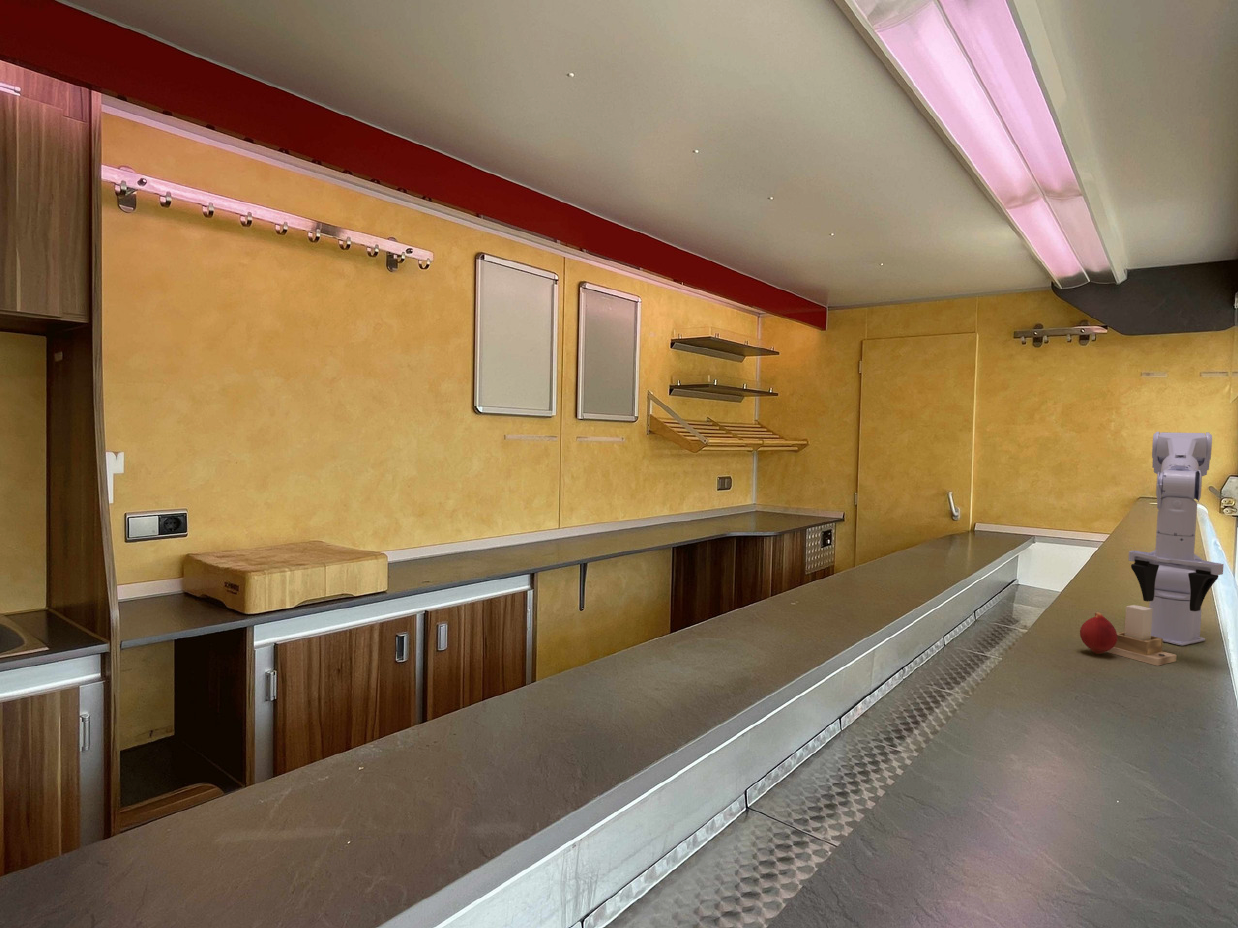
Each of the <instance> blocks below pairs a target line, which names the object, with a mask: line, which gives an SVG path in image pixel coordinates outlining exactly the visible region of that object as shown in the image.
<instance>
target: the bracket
mask: <svg viewBox="0 0 1238 928" xmlns="http://www.w3.org/2000/svg"><path fill="white" fill-rule="evenodd" d="M1124 634H1125V631H1121V632H1117V643H1116V644H1115V646H1114V647H1113V648H1112V649H1110V650H1108V651H1106V652H1105V653H1109V654H1113V655H1117V656H1120V657H1124V658H1128V659H1131V660H1135V661H1137V662H1141V663H1142V662H1143V663H1146V664H1149V665H1154V666H1156V667H1157V666H1162V665H1166V664H1169V663H1170V664H1171V663H1175V662H1177V654H1174V653H1170V652H1166V651H1163V645H1164V641H1163V639H1162V638H1158V637H1154V636H1151V640H1146V641H1143V640H1139V639H1135V638H1131V637H1127V636H1124Z"/></svg>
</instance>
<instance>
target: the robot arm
mask: <svg viewBox="0 0 1238 928" xmlns="http://www.w3.org/2000/svg"><path fill="white" fill-rule="evenodd" d="M1151 447H1152V449H1151V459H1152V468H1153V474H1156V484H1155V487H1156V488H1155V496H1156V508H1157V510H1158V511H1157V518H1156V533H1155V536H1156V537H1155V549H1154V550H1151V551H1149V552H1148V551H1141V550H1129V551H1128V561H1129V562H1133V563H1131V564H1130V568H1131V570H1132V572H1133V573H1134V575H1135V577H1136V579H1137V582H1138V584H1139V586H1140V590H1141V594H1142V598H1143V602H1147V603H1149V605H1148V608H1152V609H1153V611H1152V627H1151V636H1154V637H1158V638H1162V639H1163V643H1164V642H1165V643H1170V644H1173V645H1178V646H1186V645H1190V644H1196V643H1200V642H1204V641H1206V638H1205V637H1201V626H1202V625H1201V624H1202V605H1203V602H1204V600H1205V597H1206V596H1207V594H1208V593H1209V591H1210V589H1211V588H1212V587H1213V584H1215V582H1216V581H1217V580H1218V579H1219V576H1221V575H1222V576H1223V575H1224V563H1219V562H1214V561H1208V560H1205V559H1202V558H1201V557H1200V556H1198V555H1197V554H1196V553H1195V545H1196V543H1195V542H1196V529H1197V528H1196V527H1197V515H1198V502H1200V500H1201V497H1202V486H1203V485H1202V483H1203V477H1204V476H1206V475H1208V471H1209V470H1210V464H1211V462H1210V461H1211V460H1212V459H1211V457H1212V447H1213V435H1212V434H1211V433H1210V432H1160V431H1155V433H1153V436H1152V446H1151Z"/></svg>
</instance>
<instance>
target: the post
mask: <svg viewBox="0 0 1238 928" xmlns="http://www.w3.org/2000/svg"><path fill="white" fill-rule="evenodd" d="M1152 611H1153V609H1152V608H1149V607H1146V606H1141V605H1137V604H1133V605H1132V604H1131V605H1127V606H1125V618H1124V619H1125V620H1124V621H1125V622H1124V632H1125V634H1124V636H1127V637H1131V638H1135V639H1139V640H1143V641H1146V640H1151V627H1152Z"/></svg>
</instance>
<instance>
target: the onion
mask: <svg viewBox="0 0 1238 928" xmlns="http://www.w3.org/2000/svg"><path fill="white" fill-rule="evenodd" d="M1103 615H1104V614H1102V613H1101V612H1097V611H1096V612H1095V613H1094V616H1093V617H1091V618H1089V619H1087V620H1085V622H1083V624H1082V625H1081V627H1080V629H1079V636H1080V638H1081V639H1080V640H1081V641H1082V643H1083V644H1084V645H1085V647H1087V648H1088V649H1090V650H1091V652H1092V653H1093V654H1095V655H1101V654H1103V653H1107V652H1106V651H1108V650H1110V649H1112V648H1113V647H1114V646H1115V644H1116V643H1117V633H1118V632H1117V630H1116V628H1115V626H1114V625H1113V623H1111V621H1109V619H1107V618H1106V617H1105V616H1103Z"/></svg>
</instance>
